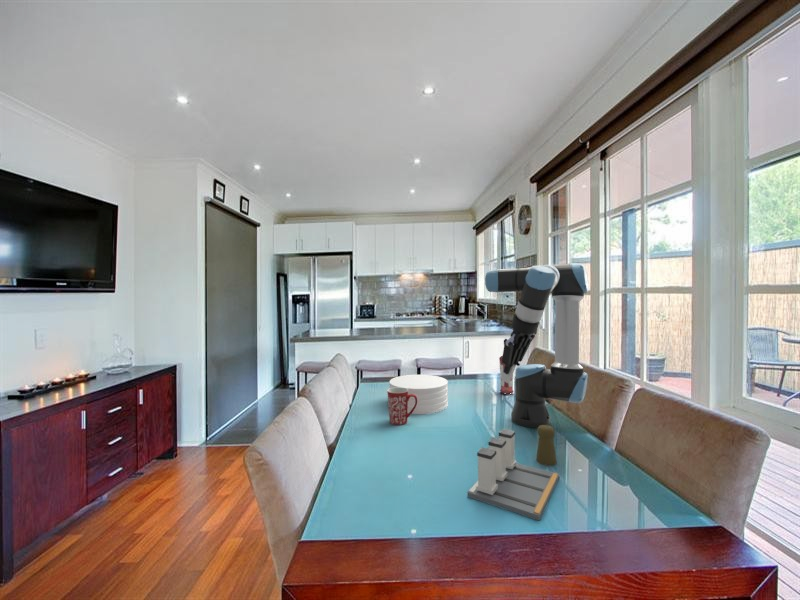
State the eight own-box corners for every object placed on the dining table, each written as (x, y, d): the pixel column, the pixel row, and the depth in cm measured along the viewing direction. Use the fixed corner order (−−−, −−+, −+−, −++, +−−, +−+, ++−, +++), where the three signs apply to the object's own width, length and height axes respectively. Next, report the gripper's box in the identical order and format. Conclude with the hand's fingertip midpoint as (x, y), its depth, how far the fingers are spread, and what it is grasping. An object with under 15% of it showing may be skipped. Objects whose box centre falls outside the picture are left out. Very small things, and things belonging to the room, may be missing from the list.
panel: (559, 478, 102) (559, 473, 102) (539, 520, 83) (539, 514, 83) (497, 461, 112) (497, 457, 112) (467, 496, 93) (467, 491, 93)
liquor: (513, 396, 184) (513, 341, 183) (499, 394, 186) (498, 341, 186) (514, 392, 190) (513, 340, 190) (500, 391, 193) (499, 339, 193)
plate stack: (391, 396, 186) (391, 374, 186) (445, 396, 185) (444, 374, 185) (387, 414, 158) (387, 388, 158) (451, 414, 157) (450, 388, 157)
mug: (384, 425, 145) (384, 392, 144) (390, 417, 153) (389, 386, 153) (415, 427, 142) (415, 393, 142) (419, 419, 151) (418, 387, 150)
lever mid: (507, 475, 100) (507, 440, 100) (502, 481, 97) (502, 445, 97) (492, 471, 103) (492, 437, 103) (487, 476, 100) (487, 441, 100)
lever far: (497, 488, 94) (497, 450, 94) (492, 495, 91) (492, 456, 90) (482, 483, 96) (481, 446, 96) (476, 489, 93) (475, 452, 93)
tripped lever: (516, 464, 107) (516, 431, 107) (512, 469, 104) (512, 435, 104) (502, 460, 110) (501, 428, 109) (497, 465, 106) (497, 432, 106)
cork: (555, 458, 114) (555, 424, 114) (557, 466, 108) (557, 430, 108) (535, 455, 116) (535, 422, 116) (536, 463, 110) (536, 428, 110)
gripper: (529, 308, 113) (508, 368, 123) (503, 315, 105) (483, 378, 115) (550, 319, 107) (526, 381, 117) (524, 327, 100) (501, 392, 110)
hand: (505, 380), depth 116 cm, fingers closed
